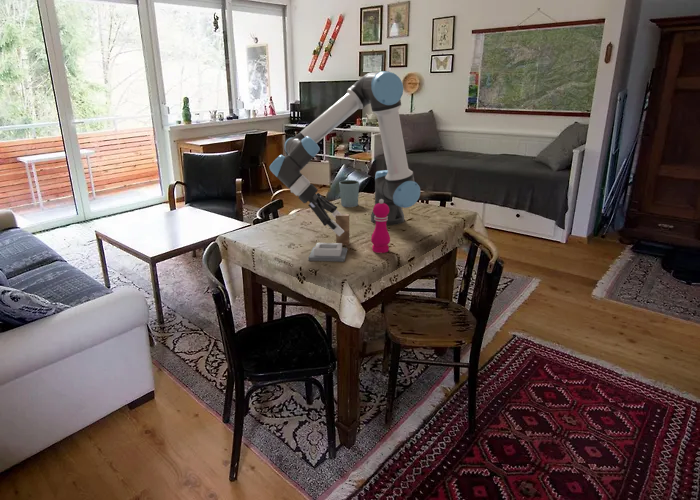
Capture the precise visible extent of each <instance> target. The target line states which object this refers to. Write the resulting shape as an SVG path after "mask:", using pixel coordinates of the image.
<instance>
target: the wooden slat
mask: <svg viewBox="0 0 700 500" xmlns="http://www.w3.org/2000/svg"><path fill="white" fill-rule="evenodd" d="M335 223H336V224H337V225H339V226H340V227H341V228H342V229H343V230H344V232H343V233H342V234H341V235H340V236H338V235H337V234H336V233H335V243H342V246H350V239H351V238H350V214H349V213H341V214H336V218H335Z"/></svg>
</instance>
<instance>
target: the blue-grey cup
mask: <svg viewBox="0 0 700 500" xmlns="http://www.w3.org/2000/svg"><path fill="white" fill-rule="evenodd" d="M338 185H339V192H340V202H341V203H340V204H341V206H342V207H344V208H355V207H358V206H359V195H360V194H359V193H360V192H359V189H360V181H359V180H355V179H354V180H353V179H345V180H341V181H339V183H338Z"/></svg>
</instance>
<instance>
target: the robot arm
mask: <svg viewBox="0 0 700 500" xmlns="http://www.w3.org/2000/svg"><path fill="white" fill-rule="evenodd" d="M403 94H404V85H403V82H402V80H401V78H400V77H399V76H398V75H397V74H395V73H394V72H391V71H387V70H382V71H370V72H368V73H366V74H364V75H363V76H362V77H361V78H359V79H358V80H357V81H356V82H355V83H354V84H353V85H351V86H350V87H348V89H347V90H346V93H345V95H344V96H342V97H341V98H339V99H338V100H337V101H336V102H335V103H334V104H333V105H331V106H330V107H329V108H328V109H326V110H325V111H323V112H322V113H321V114H320V115H318V116H317V117H316V118H315V119H314V120H313V121H312V122H311V123H310V124H308V125H307V126H306V127H304V128H303V129H302V130H301V131H299V133H297V134H296V135H295V136H292V137H289V138H287V139H286V141H285V142H284V151H285V152H286V154H287V155H286V156H285V155H283V154H280V155H278V156H277V157H276V158H275V159H274V160H273V161H272V163H271V164H270V165H269V170H270V172H271V173H272V174H273V175H274V176H275V177H276V178H277V179H278V180H279V181H280V182H281V183H282V184H283V185H285V187H287V189H289V190H290V193H292V194H294V195H295V196H296V197H297V196H298V199H299V200H300V202H302V203H303V204H307V203H308V202H309V204H308V205H307V206H308V207H309V208H310V209H311V210H312V212H313V213H314V214H315V216H316V217H317V218H318V219H319V220H320V222H321V223H322V225H323V226H324V227H326V226H328V228H329V229H331V230H332V231H333V232H334V233H335V235H336V234H337V235H338V236H340V235H341V234H342V233H343V232H344V230H343V229H342V228H341V227H340V226H339V225H337V224H336V221H335V220H333V219H331V218H330V216H329V214H328V212H329V213H330V214H331V216H333V217H334V218H335V219H336V214H342V213H341V212H340V211H339V210H337V209H338V206H336V205H335V204H334V203H332V202H331V201H330V200H328V199H327V198H325V196H323V195H322V194H321V193H319V192H318V188H317V187H316V186H315V185H314V184H313V183H311V181H310V180H309V179H308V178H307V177H306V176H305V175H303V173H302V172H301V171H302V170H303V169H304V168H305V167H306V166H307V164H309V163H310V162H311V160H313V158H315V157H317V154H318V153H319V152H320V151H321V149H320V146H319V145H318V143H319V142H320V141H321V140H322V139H324V138H325V137H326V136H327V135H328V134H329V133H331V132H332V131H333V130H334V129H336V128H337V127H338V126H339V125H340V124H342V123H343V122H345V121H346V120H347V119H348V118H349V117H350V116H352V115H353V114H354V113H355V112H356V111H357V110H362V109H364V108H365V107H367V106H368V105H370V108H371V113H373V114H375V115H376V118H377V123H378V128H379V134H380V139H381V144H382V150H383V154H384V160H385V164H386V169H385V170H384V169H382V170H377V171H376V172H375V176H374V177H375V178H374V206H375V205H376V204H378V203H379V200H380V199H383V200H384V203H385V204H387V205H388V207H389V213H388V215H387V216H388V220H387V222H386V226H396V225H399V224H402V223H404V222H405V214H404V211H403V208H404V209H405V208H406V209H407V208H411V207H412V206H414V205H415V204H416V203H417V202H418V201H419V199H420V197H421V187H420V185H419V184H418V183H417V182H416V181H415V178H414V171H413V170H411V169H410V168H409V164H408V158H407V153H406V146H405V141H404V135H403V130H402V123H401V118H400V111H399V109H400V108H401V106H402V101H401V99H402V96H403ZM370 214H371V215H370V220H371V223H374V224H376V221H375V220H374V218H375V217H374V216H375V214H374V213H373V210H372V212H371V213H370Z"/></svg>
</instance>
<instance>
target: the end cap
mask: <svg viewBox="0 0 700 500" xmlns="http://www.w3.org/2000/svg"><path fill="white" fill-rule="evenodd" d="M347 253H348V247H343V245H342V243H336V242H316V244H315V246H313V247H312V249H311V251H310V254H309V256H308V261H309V262H310V261H313V262H343V263H344V262H346V261H345V260H346V257H347Z"/></svg>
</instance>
